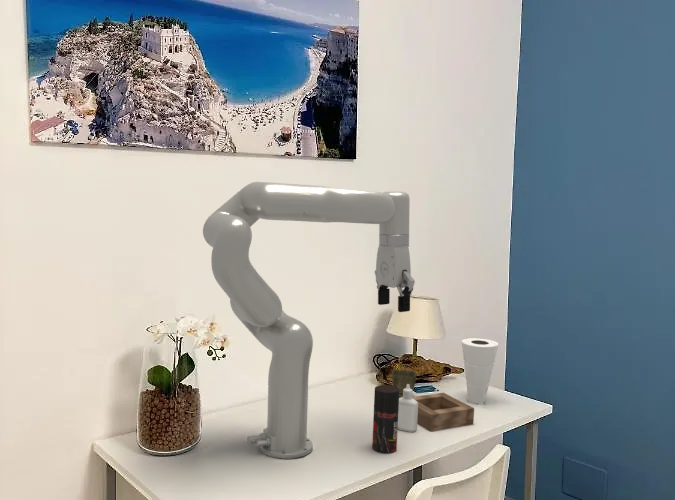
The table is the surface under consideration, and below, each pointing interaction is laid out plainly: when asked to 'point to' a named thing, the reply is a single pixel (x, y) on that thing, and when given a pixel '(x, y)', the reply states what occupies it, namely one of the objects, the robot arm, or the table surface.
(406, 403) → the eye dropper bottle
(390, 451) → the deodorant
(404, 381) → the cup
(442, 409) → the socket
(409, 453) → the table surface
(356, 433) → the table surface
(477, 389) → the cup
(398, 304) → the robot arm
